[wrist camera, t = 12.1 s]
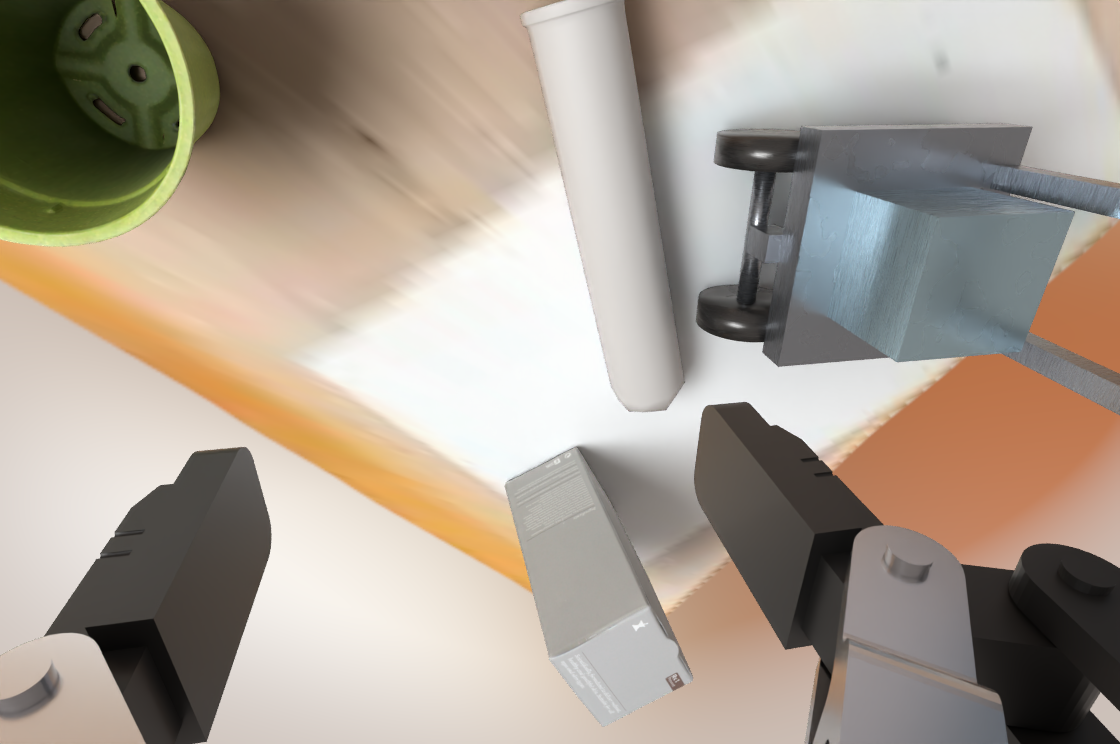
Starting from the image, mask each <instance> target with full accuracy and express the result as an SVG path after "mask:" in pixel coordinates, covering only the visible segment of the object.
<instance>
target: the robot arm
mask: <svg viewBox="0 0 1120 744" xmlns="http://www.w3.org/2000/svg"><path fill="white" fill-rule="evenodd" d="M694 483H695V490H696V495H697V498H698V501H699V504H700V506H701V508H702V509H703V511H704V513H705V514H706V516H707V518H708V520H709V521H710V523H711V525H712V526H713V528H714V530H715V531H716V533H717V535H718V536H719V538H720V540H721V542H722V543H723V545H724V547H725V548H726V550H727V552H728V553H729V555H730V557H731V558H732V560H733V562H734V563H735V565H736V567H737V569H738V570H739V572H740V574H741V575H742V577H743V579H744V580H745V582H746V584H747V585H748V587H749V589H750V591H751V592H752V594H753V596H754V597H755V599H756V601H757V602H758V604H759V606H760V608H761V609H762V611H763V613H764V614H765V616H766V618H767V619H768V621H769V623H770V624H771V626H772V628H773V630H774V631H775V633H776V635H777V636H778V638H779V640H780V641H781V643H782V645H783V647H784V648H785V649H792V648H797V647H804V646H810V645H813V647H814V648H815V650H816V652H817V653H818V655H819V656H820V658H819V661H818V665H817V668H816V672H815V679H814V685H813V693H812V698H811V705H810V712H809V718H808V726H807V732H806V738H805V744H1120V742H1119V741H1118V740H1117V739H1116V738H1115V737H1114V736H1113V735H1112V734H1111V732H1109V730H1108V729H1107V728H1106V727H1105V726H1104V725H1103V724H1102V723H1101V722H1100V721H1099V720H1098V719H1097V718H1096V717H1095V715H1094V714H1093V713H1092V712H1091V711H1090V708H1091V707H1092V705H1093V703H1094V702H1095V700H1096V699H1097V697H1098V695H1099V694H1100V692H1101V693H1102V694H1103V695H1104V696H1105V697H1106V698H1107V699H1108V700H1109V701H1110V702H1111V703H1112V704H1113V705H1114V706H1115V707H1116V708H1117V709H1118V710H1119V711H1120V568H1118V567H1117V566H1115V565H1113V564H1112V563H1110V562H1108V561H1106V560H1104V559H1102V558H1100V557H1097V556H1096V555H1093V554H1091V553H1088V552H1085V551H1083V550H1080V549H1077V548H1073V547H1069V546H1064V545H1059V544H1036V545H1033V546H1030V547H1028V548H1027V549H1025V550H1024V552H1023V553H1022V555H1021V557H1020V560H1019V562H1018V564H1017V566H1016V568H1015V570H1005V569H997V568H989V567H980V566H972V565H963V564H960V563H959V561H958V560H957V559H956V558H955V556H954V555H952V553H951V552H949V551H948V550H947V549H946V548H945V547H943V546H942V545H940V544H939V543H937V542H936V541H934V540H933V539H931V538H929V537H927V536H925V535H923V534H920V533H918V532H915V531H912V530H909V529H906V528H901V527H896V526H884V525H883V524H882V523H881V522H880V521H879V520H878V519H877V517H876V516H875V515H874V514H873V513H872V512H871V511H870V510H869V509H868V508H867V507H866V506H865V505H864V504H863V503H862V502H861V501H860V500H859V499H858V498H857V497H856V496H855V495H854V493H852V491H851V490H850V489H849V488H848V487H847V486H846V485H845V484H844V483H843V482H842V481H841V480H840V479H839V478H838V477H837V476H836V475H835V476H833V474H832V471H831V469H830V468H829V467H828V466H827V465H826V464H825V463H824V462H823V461H822V460H821V461H819V459H818V456H817V455H816V454H815V453H814V452H813V451H812V450H811V449H810V448H809V447H808V446H807V444H806V443H805V442H804V441H803V440H802V439H800V438H798V437H797V436H795V435H793V434H791V433H790V432H788V431H786V430H784V429H783V428H781V427H779V426H777V425H774V426H770V425H769V424H768V423H767V422H766V421H765V420H764V419H763V418H762V417H761V416H760V414H759V413H758V412H757V411H756V410H755V409H754V408H753V407H752V406H751V405H750V404H749V403H747V402H739V403H728V404H718V405H708V406H706V407H705V409H704V411H703V413H702V418H701V425H700V433H699V441H698V449H697V456H696V464H695V473H694ZM270 549H271V524H270V519H269V515H268V511H267V507H266V504H265V500H264V497H263V493H262V489H261V486H260V482H259V479H258V475H257V471H256V468H255V464H254V460H253V457H252V455H251V453H250V451H249V450H248V449H247V448H246V447H238V448H228V449H217V450H205V451H197V452H194V453H193V454H192V455H191V457H190V458H189V460H188V461H187V463H186V465H185V467H184V468H183V469H182V471H181V473H180V474H179V476H178V477H177V479H176V481H175V482H174V484H169V485H160V486H159V487H157V488H156V489H155V490H153V491H152V492H151V493H150V494H148V495H147V496H146V497H145V498H143V499H142V500H141V501H139V502H138V503H137V504H136V505H135V506H133V507H132V508H131V509H130V511H129V512H128V514H127V515H126V517H125V518H124V520H123V521H122V522H121V524H120V525H119V527H118V528H117V530H116V531H115V537H113V538H111V539H110V540H109V542H108V543H107V544H106V546H105V547H104V549H103V550H102V552H101V553H100V554H101V557H100V559H96V561H95V562H94V564H93V565H92V566H91V568H90V570H89V571H88V572H87V574H86V575H85V577H84V578H83V580H82V581H81V583H80V584H79V586H78V587H77V589H76V590H75V592H74V593H73V594H72V596H71V597H70V599H69V600H68V602H67V603H66V605H65V606H64V608H63V609H62V611H61V612H60V614H59V615H58V616H57V618H56V619H55V621H54V622H53V624H52V625H51V627H50V628H49V630H48V631H47V633H46V634H45V636H44V637H41V638H38V639H35V640H32V641H29V642H26V643H24V644H22V645H20V646H17V647H15V648H13V649H11V650H9V651H8V652H6V653H4V654H2V655H0V744H195V743H201V742H207V739H208V736H209V732H210V730H211V727H212V724H213V721H214V718H215V715H216V712H217V709H218V706H219V703H220V700H221V697H222V694H223V691H224V688H225V685H226V682H227V679H228V676H229V673H230V670H231V667H232V665H233V662H234V659H235V656H236V653H237V650H238V647H239V644H240V640H241V637H242V635H243V632H244V629H245V626H246V623H247V620H248V617H249V614H250V611H251V608H252V605H253V602H254V599H255V596H256V593H257V591H258V587H259V585H260V582H261V579H262V576H263V573H264V569H265V567H266V564H267V561H268V558H269V554H270Z"/></svg>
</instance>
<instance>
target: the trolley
mask: <svg viewBox="0 0 1120 744" xmlns="http://www.w3.org/2000/svg"><path fill="white" fill-rule="evenodd" d="M1031 130H1032V127H1030V126H1021V125H1012V124H1004V123H986V124H919V125H853V126H801V130H800V131H794V130H776V129H736V130H724V131H719V132H717V138H716V147H715V156H714V163H715V164H717V165H719V166H723V167H727V168H732V169H739V170H748V171H755V174H754V181H753V187H752V194H751V201H750V208H749V215H748V222H747V229H746V236H745V243H744V250H743V257H742V264H741V271H740V278H739V285H722V286H715V287H711V288H708V289H705V290H703V291H702V292H701V293H700V294H699V297H698V305H697V314H696V322H697V324H698V326H699V327H700V328H702V329H703V330H705V331H706V332H708V333H710V334H713V335H715V336H718V337H722V338H725V339H730V340H735V341H743V342H764V345H763V351H762V352H763V353H764V354H765V355H766V356H767V357H768V358H769V359H770V360H771V361H773V362H774V363H775V364H776V365H777V366H778V367H780V366H792V365H804V364H816V363H828V362H840V361H852V360H864V359H876V358H888V357H890V358H891V359H893V360H894V361H896V362H905V361H917V360H929V359H941V358H952V357H964V356H976V355H987V354H999V353H1001V354H1003V355H1005V356H1007V357H1009V358H1011V359H1013V360H1015V361H1017V362H1019V363H1021V364H1022V365H1024V366H1026V367H1029V368H1030V369H1032V370H1034V371H1036V372H1038V373H1040V374H1042V375H1044V376H1045V377H1047V378H1049V379H1051V380H1053V381H1055V382H1057V383H1059V384H1061V385H1063V386H1065V387H1067V388H1068V389H1071V390H1072V391H1074V392H1076V393H1078V394H1080V395H1082V396H1084V397H1086V398H1088V399H1090V400H1092V401H1094V402H1096V403H1097V404H1099V405H1101V406H1103V407H1105V408H1107V409H1109V410H1111V411H1113V412H1115V413H1116V414H1118V415H1120V374H1119V373H1116V372H1114V371H1112V370H1110V369H1108V368H1106V367H1103V366H1101V365H1099V364H1097V363H1095V362H1093V361H1091V360H1088V359H1086V358H1084V357H1082V356H1080V355H1078V354H1075V353H1073V352H1071V351H1069V350H1067V349H1065V348H1062V347H1060V346H1058V345H1056V344H1054V343H1051V342H1049V341H1047V340H1045V339H1043V338H1041V337H1039V336H1036V335H1034V334H1032V333H1030V332H1029V330H1030V327H1031V324H1032V322H1033V319H1034V317H1035V314H1036V311H1037V309H1038V306H1039V304H1040V301H1041V298H1042V296H1043V293H1044V291H1045V288H1046V286H1047V283H1048V281H1049V278H1050V275H1051V273H1052V270H1053V268H1054V265H1055V262H1056V260H1057V257H1058V255H1059V252H1060V250H1061V247H1062V244H1063V242H1064V239H1065V237H1066V234H1067V231H1068V229H1069V226H1070V224H1071V221H1072V219H1073V216H1074V213H1075V212H1074V211H1070V210H1066V209H1062V208H1058V207H1053V206H1049V205H1045V204H1041V203H1037V202H1032V201H1028V200H1024V199H1020V198H1016V197H1011V196H1010V193H1011V194H1015V195H1020V196H1024V197H1028V198H1033V199H1037V200H1041V201H1045V202H1050V203H1054V204H1058V205H1062V206H1067V207H1071V208H1075V209H1080V210H1084V211H1088V212H1092V213H1097V214H1101V215H1105V216H1110V217H1114V218H1118V219H1120V184H1119V183H1113V182H1108V181H1102V180H1097V179H1091V178H1086V177H1081V176H1075V175H1070V174H1064V173H1059V172H1053V171H1048V170H1042V169H1037V168H1031V167H1026V166H1020V163H1021V160H1022V157H1023V154H1024V151H1025V148H1026V145H1027V142H1028V139H1029V136H1030V133H1031ZM776 172H793V177H792V182H791V188H790V194H789V200H788V206H787V212H786V217H785V223H784V229H783V228H781V227H779V226H777V225H775V224H771V225H768V221H769V215H770V209H771V202H772V196H773V190H774V183H775V177H776ZM762 262H763V263H778V264H777V270H776V275H775V281H774V287H773V290H769V289H765V288H761V287H758V284H759V277H760V271H761V265H762Z"/></svg>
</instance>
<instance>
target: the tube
mask: <svg viewBox="0 0 1120 744" xmlns="http://www.w3.org/2000/svg"><path fill="white" fill-rule="evenodd" d="M624 1H625V0H564V1H560V2H557V3H554V4H550V5H547V6H544V7H540V8H537V9H534V10H530V11H527V12H524V13H522V14H520V19H521V23H522V26H524V27H526V28H527V30H528V33H529V37H530V41H531V45H532V50H533V54H534V58H535V63H536V67H537V71H538V75H539V80H540V84H541V88H542V93H543V97H544V101H545V106H546V110H547V114H548V118H549V123H550V127H551V131H552V136H553V140H554V144H555V148H556V153H557V157H558V161H559V166H560V170H561V174H562V178H563V183H564V187H565V191H566V196H567V200H568V204H569V209H570V213H571V217H572V221H573V226H574V230H575V234H576V239H577V243H578V247H579V251H580V256H581V260H582V264H583V269H584V273H585V277H586V281H587V286H588V290H589V294H590V299H591V303H592V307H593V312H594V316H595V320H596V324H597V329H598V333H599V337H600V342H601V346H602V350H603V354H604V359H605V363H606V367H607V372H608V376H609V380H610V384H611V387H612V389H613V391H614V393H615V395H616V397H617V398H618V400H619V401H620V402H621V403H622V404H623V406H624V407H625V408H626V409H627V410H628V411H630V412H652V411H662V410H667V408H668V407H669V405H670V404H671V402H672V401H673V399H674V398H675V396H676V395H677V393H678V392H679V390H680V389H681V387H682V386H683V384H684V383H685V382H684V376H683V369H682V363H681V357H680V351H679V344H678V338H677V332H676V326H675V319H674V313H673V307H672V301H671V294H670V288H669V282H668V276H667V269H666V263H665V257H664V251H663V244H662V238H661V232H660V226H659V219H658V213H657V207H656V201H655V195H654V188H653V182H652V176H651V170H650V163H649V157H648V151H647V145H646V138H645V132H644V126H643V120H642V113H641V107H640V101H639V95H638V88H637V82H636V76H635V70H634V63H633V57H632V51H631V45H630V38H629V32H628V26H627V20H626V13H625V4H624Z"/></svg>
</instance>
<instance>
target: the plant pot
mask: <svg viewBox="0 0 1120 744" xmlns="http://www.w3.org/2000/svg"><path fill="white" fill-rule="evenodd" d="M115 6H116V12H117V17H116V16H115V12H114V9H113V4H112V1H111V0H0V239H1V240H5V241H9V242H14V243H20V244H28V245H38V246H53V247H68V246H79V245H85V244H90V243H95V242H101V241H104V240H107V239H111V238H114V237H117V236H120V235H122V234H124V233H126V232H129V231H131V230H133V229H134V228H136V227H138V226H140V225H141V224H143V223H144V222H145V221H147V220H148V219H150V218H151V217H152V216H153V215H154V214H156V213H157V212H158V211H159V210H160V209H161V208H162V207H163V206H164V205H165V204H166V202H167V201H168V200H169V199H170V197H171V196H172V195H173V193H174V192H175V190H176V189H177V187H178V185H179V183H180V182H181V180H182V178H183V176H184V174H185V172H186V169H187V166H188V163H189V160H190V157H191V154H192V149H193V145H194V143H195V142H196V141H197V140H198V139H199V138H200V137H201V136H202V135H203V134H204V133H205V132H206V130H207V129H208V128H209V127H210V125H211V123H212V122H213V120H214V117H215V115H216V113H217V109H218V105H219V99H220V87H219V80H218V75H217V71H216V67H215V63H214V60H213V57H212V55H211V53H210V51H209V49H208V47H207V45H206V44H205V42H204V41H203V39H202V38H201V36H200V35H199V34H198V32H197V31H196V30H195V28H194V27H193V26H192V25H191V24H190V23H189V22H188V21H187V20H186V19H185V18H184V17H183V16H182V15H180V14H179V13H178V12H177V11H175V10H174V9H173V8H171V7H170V6H168V5H167V4H166V3H164V2H163V1H161V0H115ZM97 13H98V14H100V16H101V18H102V24H101V25H100V26H99V27H97V28H96V29H95V30H94V31H93V33H92V34H91V35H90V37H89V38H88V39H87V40H86V41H83V40H82V39H81V38H80V36H79V33H78V32H79V28H80V27H81V26H82V24H83V23H84V21H85V20H86V19H87V18H89V17H90V16H92V14H97ZM132 66H140V67H141V68H143V69H144V71H145V74H146V79H145V80H144V81H143V82H136V81H135V80H133V79H132V78H131V76H130V68H131V67H132ZM73 79H75V80H73ZM76 80H77V81H76ZM97 98H100V99H101V100H102V101H103V102H104V103H105V104H106V105H107V106H108V107H109V108H110V109H111V110H113V111H114V112H115V113H116V114H117V115H119V116H120V117H122V118H124V119H125V122H123V123H122V125H121V126H120V125H118V124H116V123H115V122H113V121H112V120H111V119H109V118H108V117H107V116H106V115H105V114H104V113H102V112H100V110H99V109H97V108H96V107H95V106H94V104H93V100H95V99H97ZM178 121H179V127H178V126H177V122H178ZM163 134H164V138H163Z"/></svg>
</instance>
